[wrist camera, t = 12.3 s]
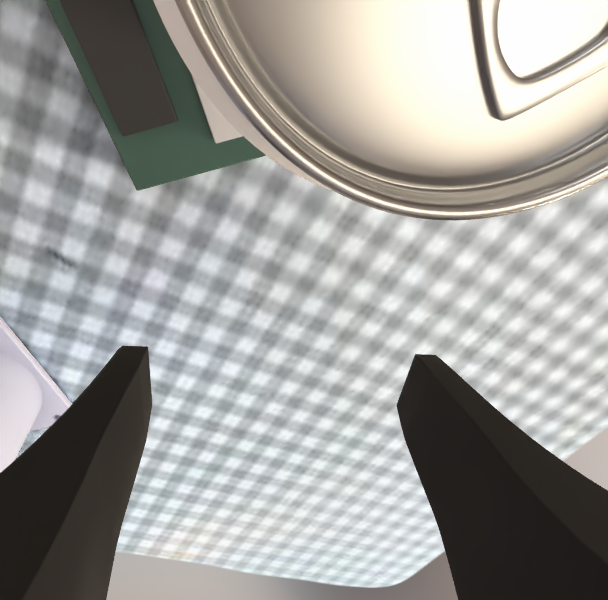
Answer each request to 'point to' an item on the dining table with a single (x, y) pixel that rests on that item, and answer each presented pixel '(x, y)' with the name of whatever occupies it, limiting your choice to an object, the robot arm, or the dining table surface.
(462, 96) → the can
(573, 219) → the dining table surface
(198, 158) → the scale
